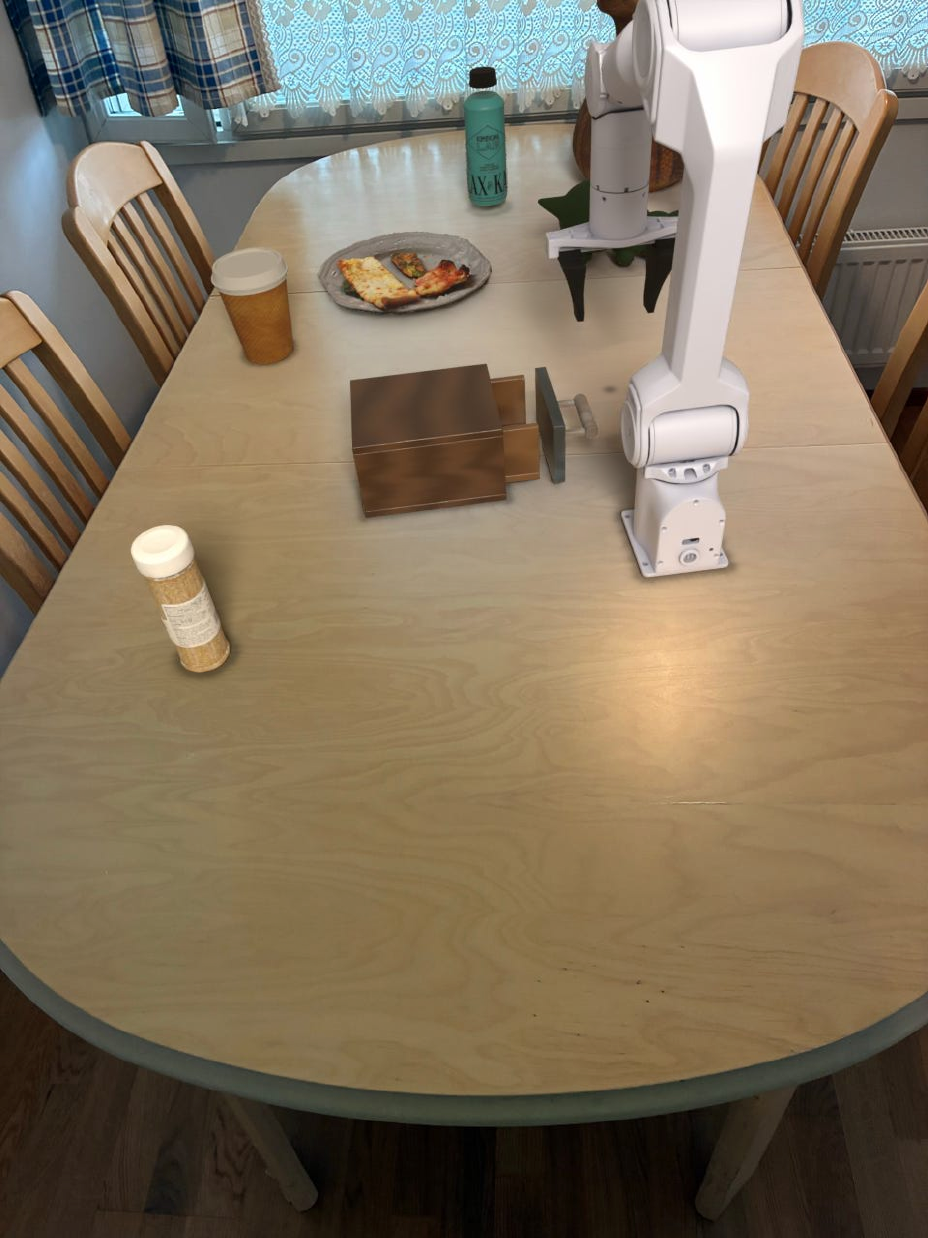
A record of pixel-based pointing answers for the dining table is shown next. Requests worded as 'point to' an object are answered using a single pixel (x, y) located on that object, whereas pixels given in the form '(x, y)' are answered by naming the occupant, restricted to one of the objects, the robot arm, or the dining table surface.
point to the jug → (664, 161)
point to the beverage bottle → (485, 140)
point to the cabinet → (427, 440)
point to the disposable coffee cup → (256, 301)
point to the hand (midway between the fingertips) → (613, 313)
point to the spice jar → (181, 596)
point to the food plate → (404, 272)
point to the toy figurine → (577, 212)
